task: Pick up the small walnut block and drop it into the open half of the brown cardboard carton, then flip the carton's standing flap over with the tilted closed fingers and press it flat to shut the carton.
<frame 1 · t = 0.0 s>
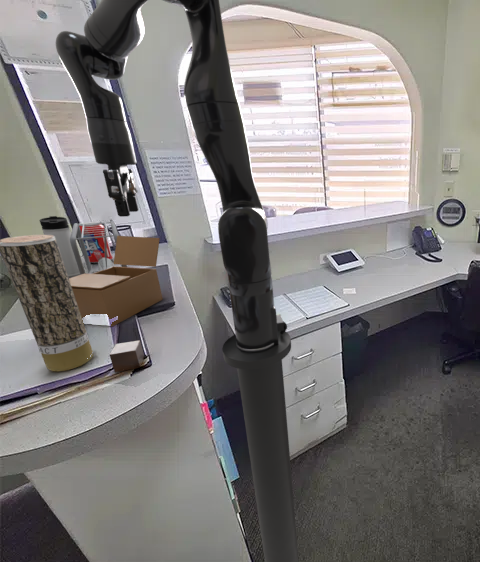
hand: (129, 213, 76), 26 cm above the table, tool pointing down, fingers open, 8 cm apart
travel mug: (71, 277, 105), on the table
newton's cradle: (109, 282, 102), on the table
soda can: (100, 261, 122), on the table
carton: (117, 310, 83), on the table
paper tube: (72, 363, 61), on the table
block: (130, 364, 61), on the table
flap: (136, 251, 88), point 14 cm above the table, hinge at 115.0°
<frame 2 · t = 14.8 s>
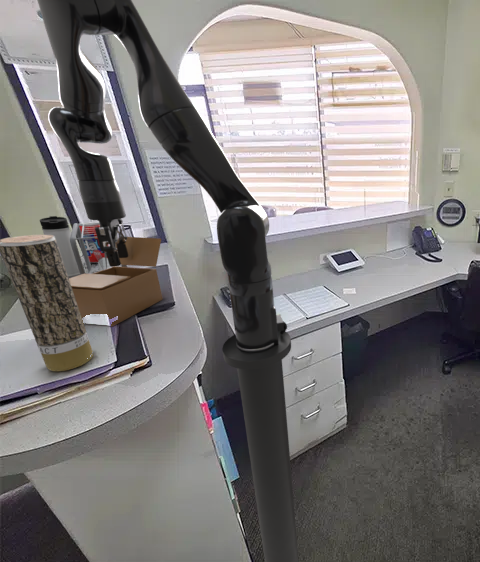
hand: (119, 261, 83), 12 cm above the table, tool pointing down, fingers open, 8 cm apart
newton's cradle: (109, 282, 102), on the table, touching flap
block: (129, 302, 87), resting on carton
flap: (137, 251, 88), point 14 cm above the table, hinge at 119.4°, touching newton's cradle
everything else where it was.
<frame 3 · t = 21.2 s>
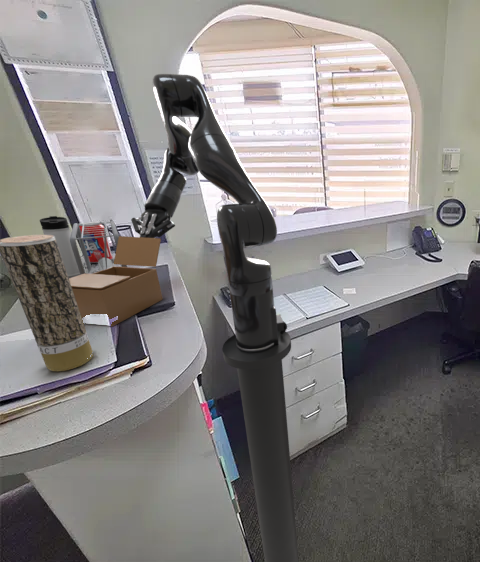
hand: (141, 247, 89), 14 cm above the table, tool tilted 45°, fingers closed
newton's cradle: (109, 282, 102), on the table
flap: (137, 251, 88), point 14 cm above the table, hinge at 118.3°, touching gripper
everything else where it was.
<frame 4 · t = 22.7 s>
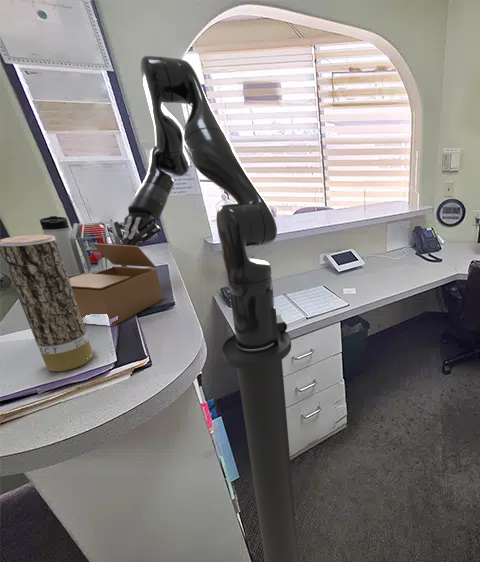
hand: (124, 253, 84), 14 cm above the table, tool tilted 45°, fingers closed
flap: (124, 255, 84), point 14 cm above the table, hinge at 58.2°
everything else where it was.
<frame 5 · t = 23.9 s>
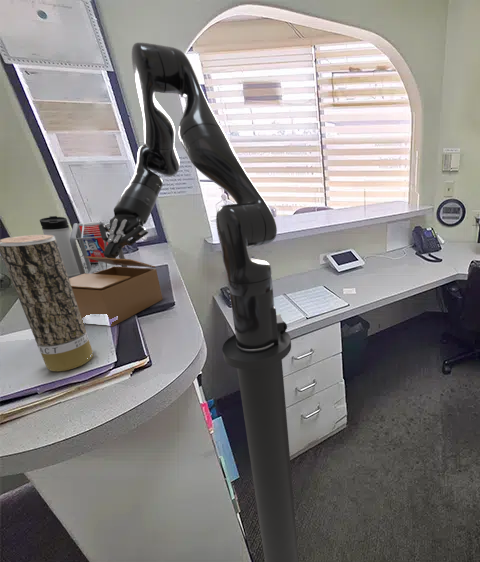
hand: (109, 257, 80), 14 cm above the table, tool tilted 45°, fingers closed
flap: (121, 262, 83), point 12 cm above the table, hinge at 30.1°
everything else where it was.
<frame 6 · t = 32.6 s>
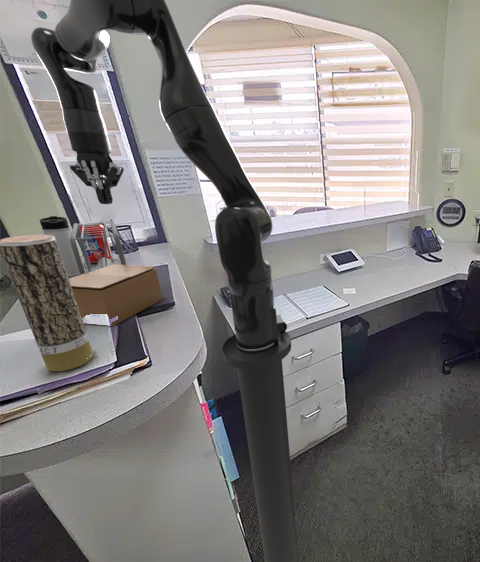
hand: (106, 203, 82), 27 cm above the table, tool pointing down, fingers closed
flap: (121, 270, 84), point 10 cm above the table, hinge at -1.0°
everything else where it was.
at the end: flap at -1° (first picture: +115°); block inside the target area in the carton (3.9 cm from its centre), point 0.4 cm above the carton's base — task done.
